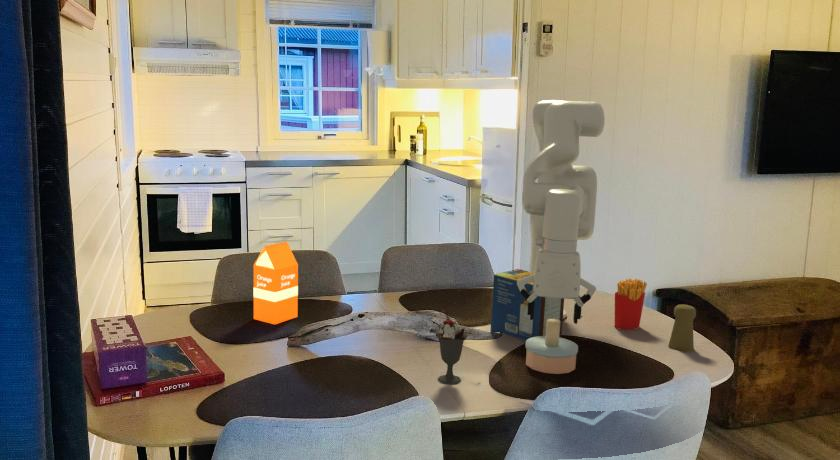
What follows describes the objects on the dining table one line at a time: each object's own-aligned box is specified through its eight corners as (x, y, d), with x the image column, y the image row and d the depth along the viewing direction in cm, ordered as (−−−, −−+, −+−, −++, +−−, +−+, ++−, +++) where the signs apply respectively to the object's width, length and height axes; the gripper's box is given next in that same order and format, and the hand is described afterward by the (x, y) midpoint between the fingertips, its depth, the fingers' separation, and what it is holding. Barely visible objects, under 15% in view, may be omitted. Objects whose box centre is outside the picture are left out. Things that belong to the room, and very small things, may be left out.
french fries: (619, 330, 192) (623, 283, 189) (609, 325, 196) (613, 279, 193) (646, 327, 196) (650, 281, 193) (635, 322, 199) (639, 277, 197)
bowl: (516, 367, 162) (517, 348, 161) (540, 355, 170) (542, 337, 169) (559, 380, 155) (561, 361, 154) (583, 367, 163) (584, 348, 163)
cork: (695, 353, 176) (700, 310, 174) (670, 350, 177) (674, 307, 175) (691, 345, 182) (696, 303, 180) (666, 342, 183) (671, 301, 181)
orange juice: (298, 316, 192) (298, 243, 189) (274, 324, 185) (275, 248, 182) (276, 311, 197) (276, 239, 193) (252, 318, 189) (252, 244, 186)
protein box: (514, 324, 194) (517, 268, 191) (562, 339, 183) (566, 280, 180) (489, 332, 186) (492, 273, 184) (537, 347, 176) (541, 286, 173)
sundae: (431, 374, 156) (435, 307, 153) (462, 374, 157) (466, 307, 154) (435, 385, 149) (438, 316, 147) (467, 386, 150) (470, 317, 147)
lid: (515, 348, 161) (517, 320, 160) (541, 336, 170) (543, 310, 169) (562, 361, 154) (564, 332, 153) (586, 348, 163) (589, 321, 162)
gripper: (519, 246, 155) (514, 322, 159) (601, 252, 153) (594, 328, 156) (519, 239, 163) (515, 311, 166) (598, 244, 160) (591, 318, 164)
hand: (553, 319), depth 161 cm, fingers open, 9 cm apart
